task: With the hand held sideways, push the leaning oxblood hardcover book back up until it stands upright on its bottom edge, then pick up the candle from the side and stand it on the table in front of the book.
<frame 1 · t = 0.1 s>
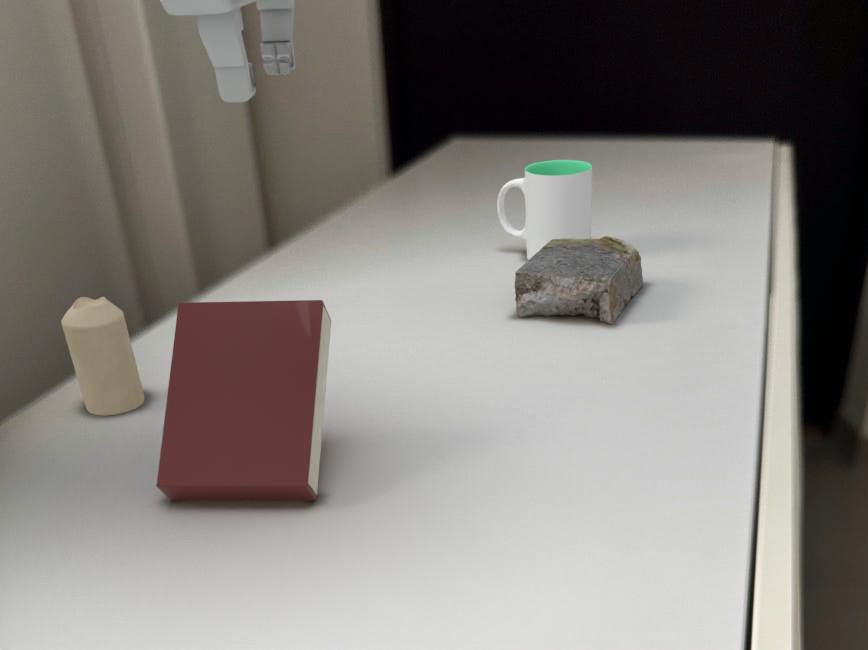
hand: (261, 86, 64), 30 cm above the dresser, tool pointing down, fingers open, 8 cm apart
geological specimen: (580, 304, 118), on the dresser
book: (247, 400, 84), point 6 cm above the dresser, hinge at 50.0°
candle: (116, 406, 101), on the dresser
mug: (543, 256, 133), on the dresser
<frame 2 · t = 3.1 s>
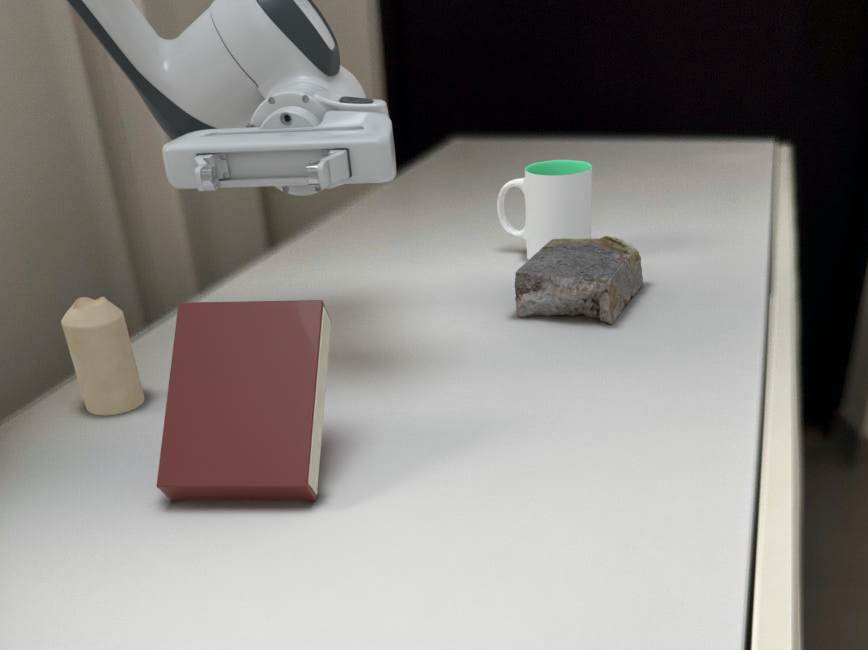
hand: (259, 179, 86), 20 cm above the dresser, tool horizontal, fingers open, 8 cm apart
nothing on the dresser moved.
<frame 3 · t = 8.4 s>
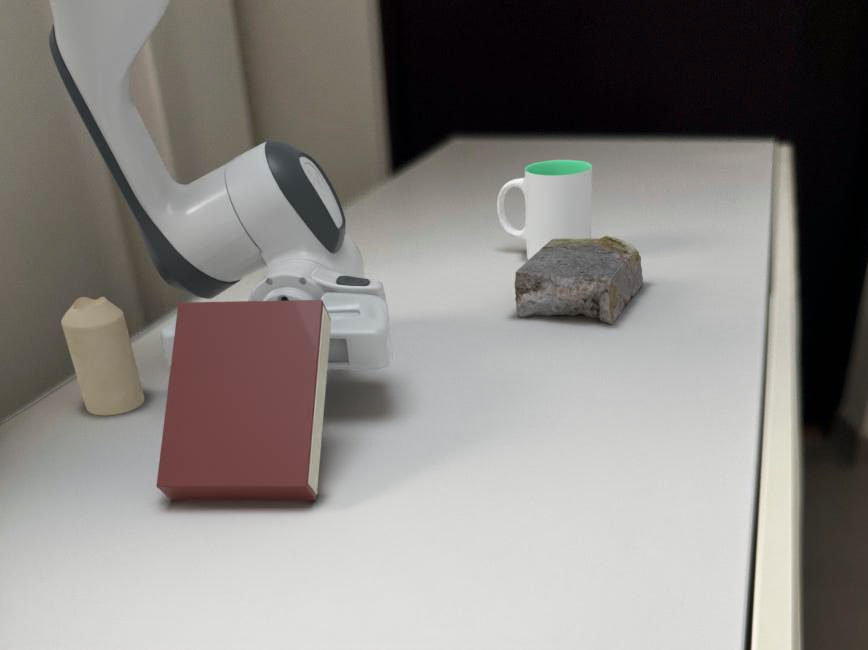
hand: (257, 373, 87), 7 cm above the dresser, tool horizontal, fingers closed, pressing on book
book: (247, 400, 84), point 6 cm above the dresser, hinge at 49.9°, touching gripper
everything else where it was.
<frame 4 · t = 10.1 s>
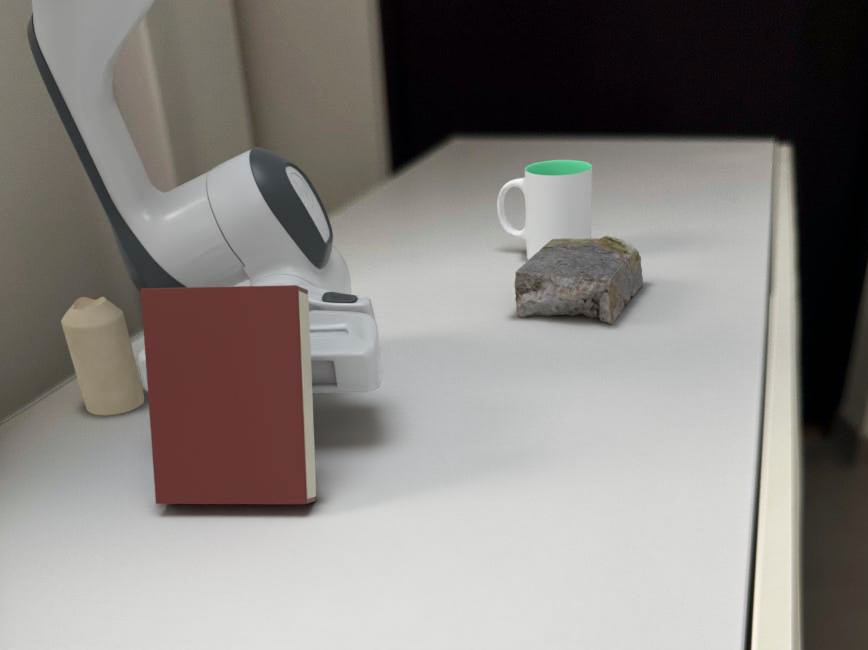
hand: (240, 399, 83), 7 cm above the dresser, tool horizontal, fingers closed, pressing on book
book: (231, 397, 81), point 8 cm above the dresser, hinge at 24.0°, touching gripper
everything else where it was.
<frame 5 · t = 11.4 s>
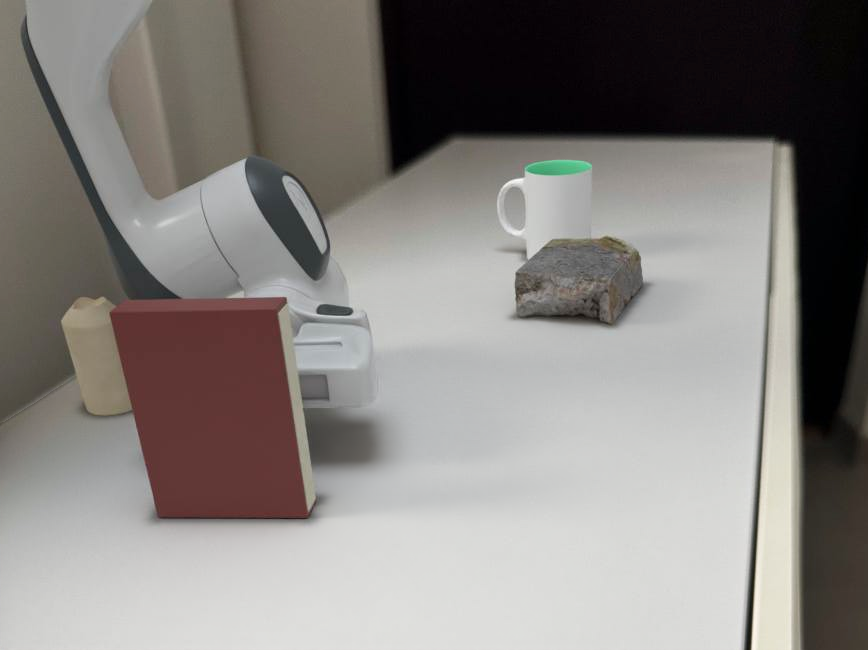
hand: (229, 414, 80), 7 cm above the dresser, tool horizontal, fingers closed, pressing on book
book: (219, 412, 78), point 8 cm above the dresser, hinge at 2.8°, touching gripper
everything else where it was.
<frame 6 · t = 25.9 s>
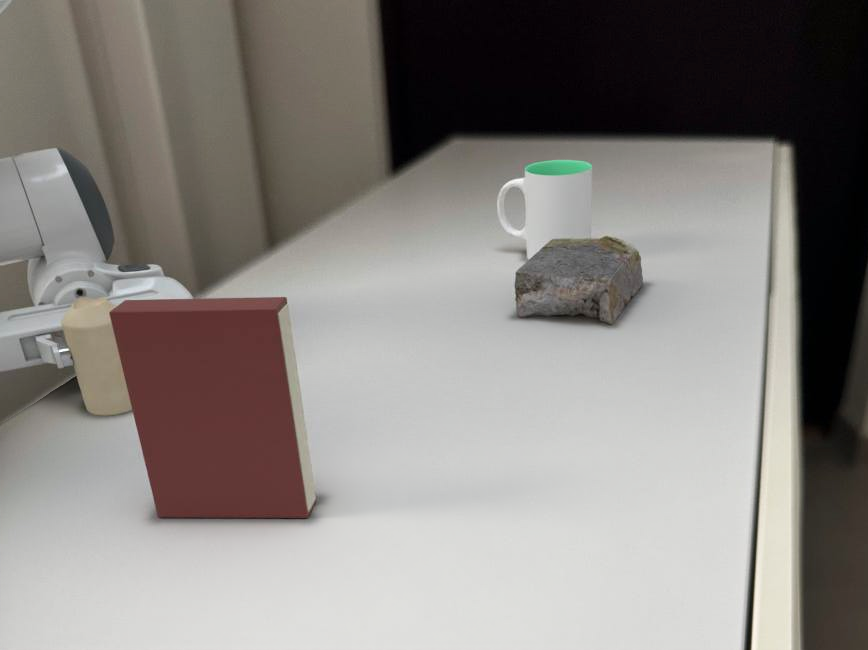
hand: (102, 351, 97), 6 cm above the dresser, tool horizontal, fingers closed on candle, 5 cm apart
book: (219, 412, 78), point 8 cm above the dresser, hinge at 2.8°
candle: (116, 406, 101), on the dresser, touching gripper
everything else where it was.
when the fingers open (6 cm above the dresser, at t = 34.4 s): candle stays where it is, on the dresser.
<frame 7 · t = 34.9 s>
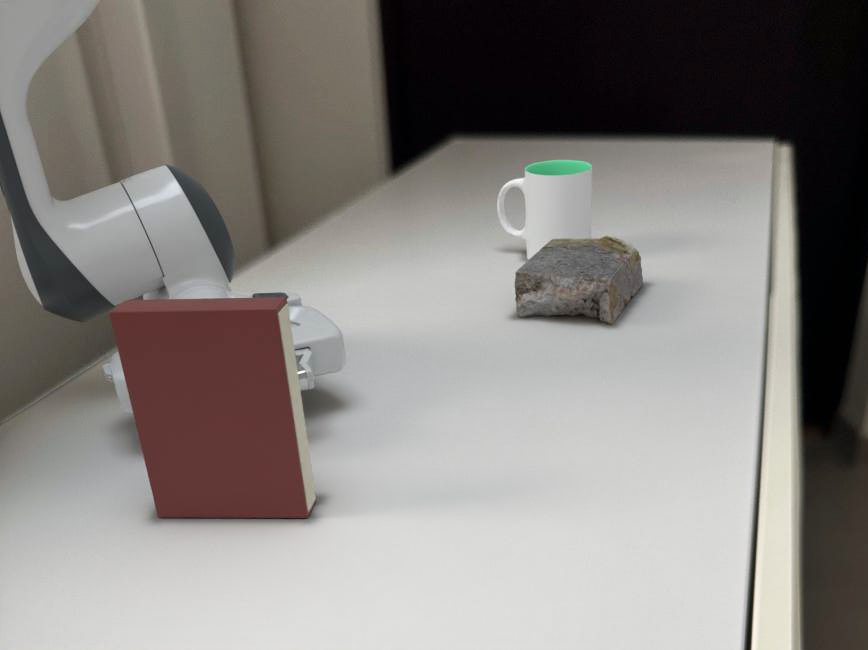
hand: (250, 393, 87), 6 cm above the dresser, tool horizontal, fingers open, 8 cm apart
candle: (261, 452, 91), on the dresser
everything else where it was.
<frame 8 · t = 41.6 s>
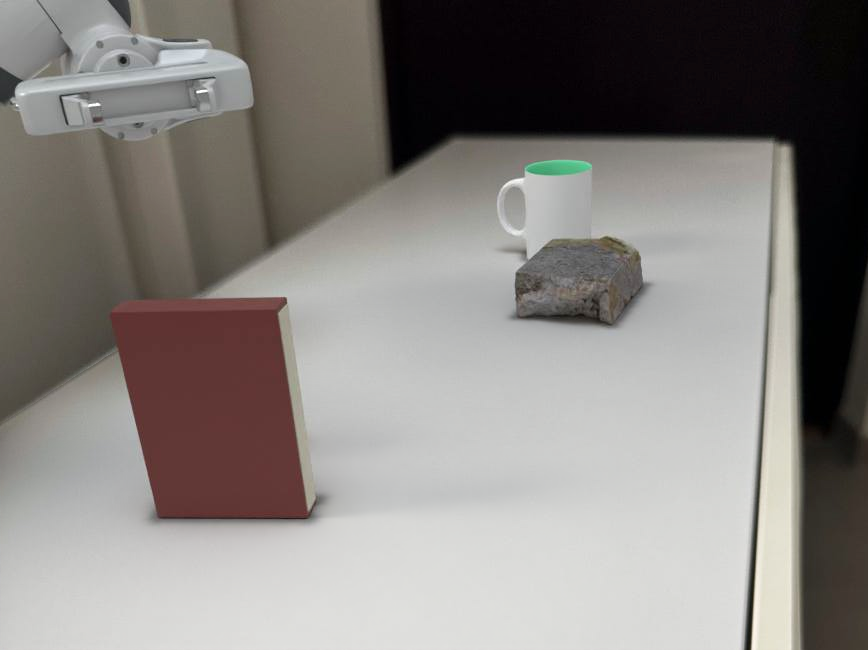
hand: (151, 108, 88), 25 cm above the dresser, tool horizontal, fingers open, 8 cm apart
nothing on the dresser moved.
at the end: book at +3° (first picture: +50°); candle inside the target area on the dresser beside the book (0.5 cm from its centre), on the dresser; candle tilted 0° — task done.
